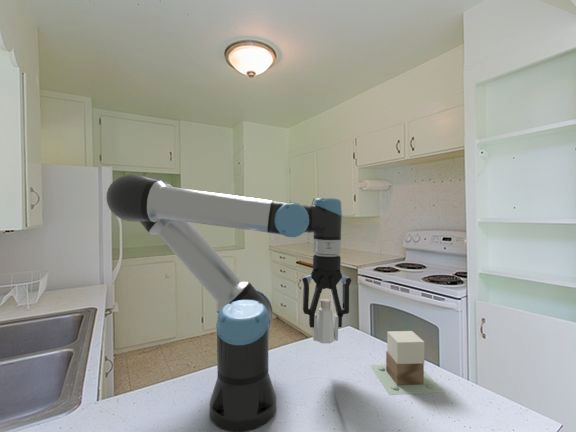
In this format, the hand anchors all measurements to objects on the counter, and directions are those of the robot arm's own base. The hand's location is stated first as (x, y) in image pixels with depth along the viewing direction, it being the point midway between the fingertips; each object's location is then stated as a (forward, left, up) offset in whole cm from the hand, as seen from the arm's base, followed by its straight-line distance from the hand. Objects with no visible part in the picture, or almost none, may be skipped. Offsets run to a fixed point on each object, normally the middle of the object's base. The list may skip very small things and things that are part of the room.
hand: (325, 338), depth 82 cm
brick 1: (+21, -4, -4) cm, 22 cm away
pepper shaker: (0, 0, -1) cm, 1 cm away
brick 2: (+21, -4, -9) cm, 23 cm away
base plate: (+21, -4, -10) cm, 23 cm away
